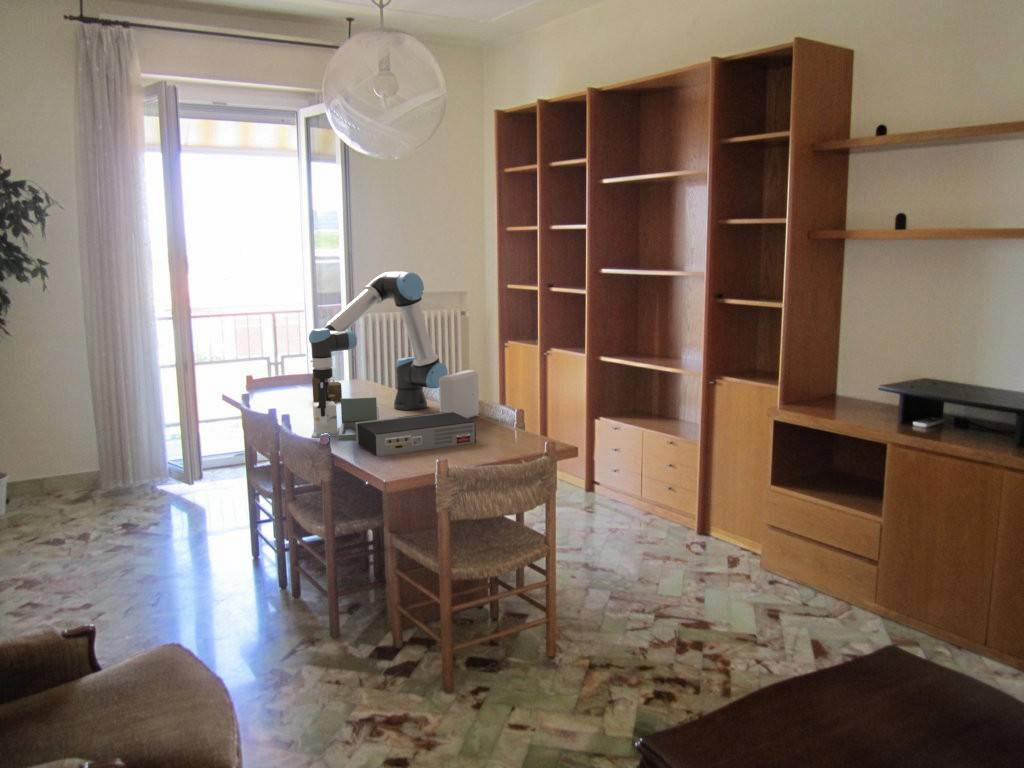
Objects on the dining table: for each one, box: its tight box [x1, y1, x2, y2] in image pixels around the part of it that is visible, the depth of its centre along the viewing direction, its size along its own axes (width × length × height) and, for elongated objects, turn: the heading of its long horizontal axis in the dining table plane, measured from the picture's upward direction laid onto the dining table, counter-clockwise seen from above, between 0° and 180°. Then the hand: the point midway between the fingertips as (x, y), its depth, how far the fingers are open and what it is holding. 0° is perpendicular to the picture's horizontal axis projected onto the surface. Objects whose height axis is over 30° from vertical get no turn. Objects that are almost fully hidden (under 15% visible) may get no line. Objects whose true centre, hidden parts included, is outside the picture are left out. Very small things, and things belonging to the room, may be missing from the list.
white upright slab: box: [438, 369, 480, 419], centre depth 355 cm, size 21×8×20 cm, turn 149°
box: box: [355, 411, 477, 457], centre depth 317 cm, size 40×25×9 cm, turn 118°
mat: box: [311, 427, 340, 438], centre depth 334 cm, size 10×12×1 cm
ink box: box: [312, 401, 339, 435], centre depth 333 cm, size 9×8×12 cm
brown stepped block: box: [311, 376, 343, 404], centre depth 399 cm, size 14×14×15 cm
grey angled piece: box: [337, 396, 380, 441], centre depth 334 cm, size 16×24×12 cm, turn 8°
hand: (325, 420), depth 333 cm, fingers open, 13 cm apart
